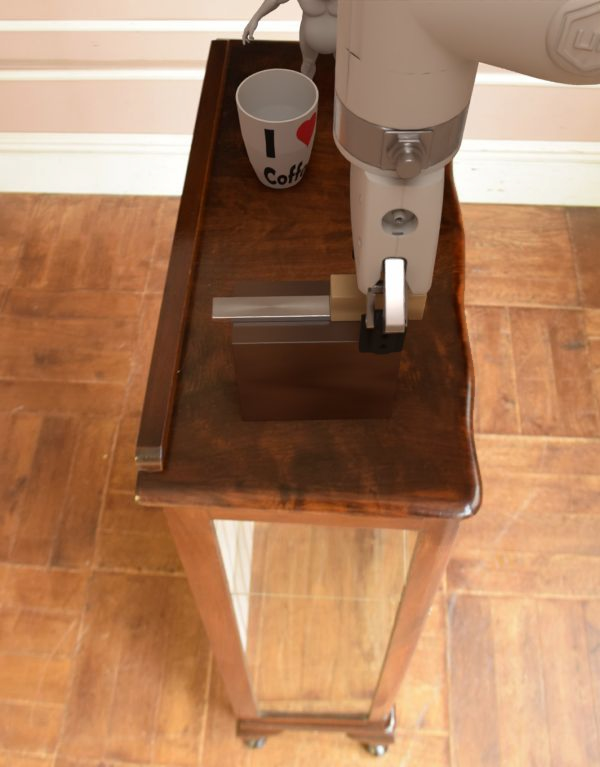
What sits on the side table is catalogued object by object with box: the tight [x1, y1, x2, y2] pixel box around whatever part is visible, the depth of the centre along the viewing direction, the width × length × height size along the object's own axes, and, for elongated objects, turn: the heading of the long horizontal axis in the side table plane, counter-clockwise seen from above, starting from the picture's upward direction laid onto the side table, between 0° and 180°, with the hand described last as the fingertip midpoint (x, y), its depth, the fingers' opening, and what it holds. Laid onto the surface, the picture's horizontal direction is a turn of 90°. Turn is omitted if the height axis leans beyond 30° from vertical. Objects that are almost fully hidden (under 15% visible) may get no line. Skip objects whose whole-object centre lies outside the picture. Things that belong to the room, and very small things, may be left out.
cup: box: [235, 68, 319, 190], centre depth 80 cm, size 8×8×10 cm
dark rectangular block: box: [230, 279, 404, 422], centre depth 65 cm, size 13×6×12 cm, turn 91°
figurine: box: [241, 0, 338, 81], centre depth 82 cm, size 18×7×18 cm, turn 88°
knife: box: [211, 273, 428, 323], centre depth 58 cm, size 16×2×3 cm, turn 91°
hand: (376, 301), depth 59 cm, fingers open, 8 cm apart
